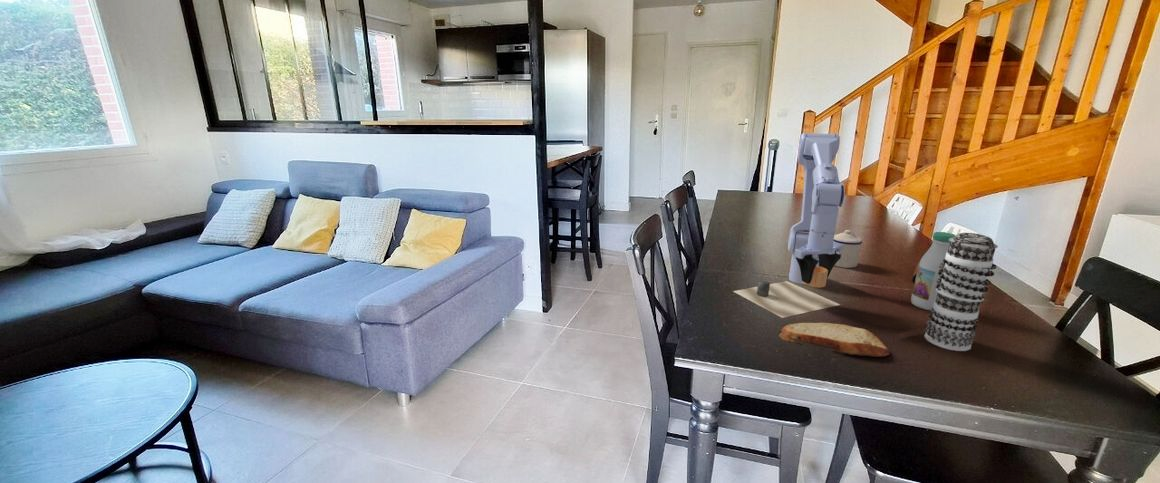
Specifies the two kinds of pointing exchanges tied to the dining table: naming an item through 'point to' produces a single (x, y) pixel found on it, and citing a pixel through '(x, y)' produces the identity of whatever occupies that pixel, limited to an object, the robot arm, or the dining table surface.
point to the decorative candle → (960, 291)
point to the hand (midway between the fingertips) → (814, 280)
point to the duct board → (785, 298)
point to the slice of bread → (836, 338)
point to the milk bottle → (930, 271)
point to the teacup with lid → (848, 249)
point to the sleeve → (818, 277)
